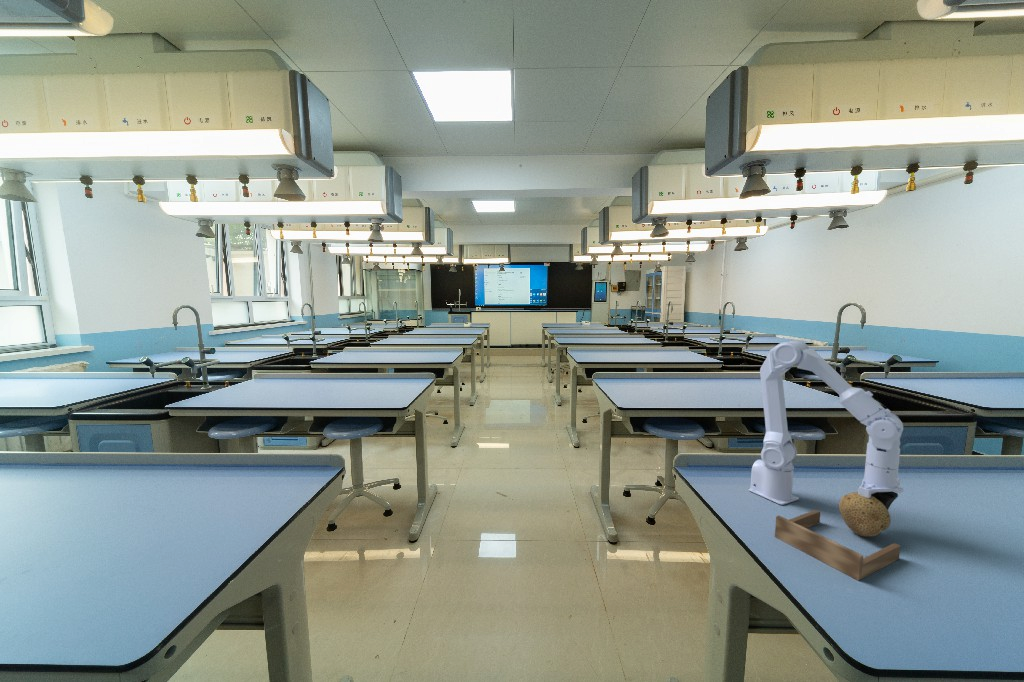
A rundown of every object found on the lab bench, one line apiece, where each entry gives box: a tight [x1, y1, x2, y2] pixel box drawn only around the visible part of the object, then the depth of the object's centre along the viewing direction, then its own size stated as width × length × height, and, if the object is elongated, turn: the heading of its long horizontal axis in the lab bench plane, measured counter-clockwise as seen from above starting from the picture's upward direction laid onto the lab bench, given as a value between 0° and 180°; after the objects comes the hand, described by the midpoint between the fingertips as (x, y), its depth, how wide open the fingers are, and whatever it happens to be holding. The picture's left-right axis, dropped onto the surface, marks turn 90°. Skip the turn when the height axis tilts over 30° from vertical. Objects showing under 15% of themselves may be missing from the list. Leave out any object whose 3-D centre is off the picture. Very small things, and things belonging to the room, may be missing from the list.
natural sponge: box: [838, 491, 891, 538], centre depth 92 cm, size 9×9×10 cm
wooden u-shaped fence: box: [774, 509, 901, 582], centre depth 87 cm, size 16×16×5 cm
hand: (876, 519), depth 94 cm, fingers closed
